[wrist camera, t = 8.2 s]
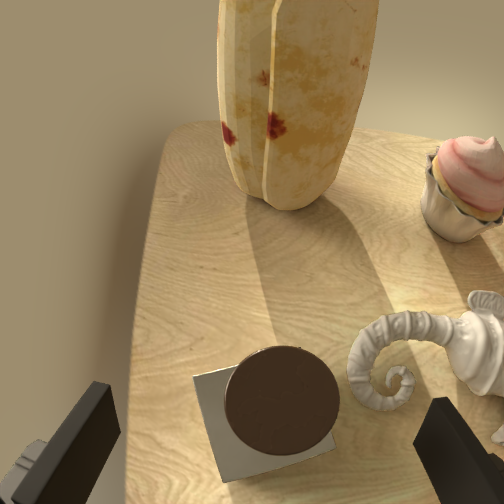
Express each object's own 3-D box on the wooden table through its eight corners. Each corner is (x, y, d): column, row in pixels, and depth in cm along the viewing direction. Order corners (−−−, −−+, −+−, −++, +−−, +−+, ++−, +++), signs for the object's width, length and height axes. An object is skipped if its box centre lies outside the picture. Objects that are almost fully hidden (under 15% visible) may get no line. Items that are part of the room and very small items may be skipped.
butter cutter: (226, 475, 16) (206, 525, 6) (199, 385, 19) (153, 327, 9) (321, 446, 17) (411, 452, 7) (291, 360, 20) (342, 278, 10)
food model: (325, 161, 30) (370, -47, 13) (342, 216, 26) (420, -30, 9) (221, 163, 29) (215, -62, 12) (222, 220, 25) (211, -60, 8)
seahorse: (335, 474, 15) (571, 435, 11) (360, 277, 17) (588, 288, 14) (329, 445, 20) (538, 424, 16) (348, 288, 22) (552, 296, 18)
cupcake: (446, 174, 30) (484, 102, 21) (496, 241, 25) (552, 175, 17) (386, 189, 28) (424, 101, 19) (443, 272, 23) (510, 193, 15)
